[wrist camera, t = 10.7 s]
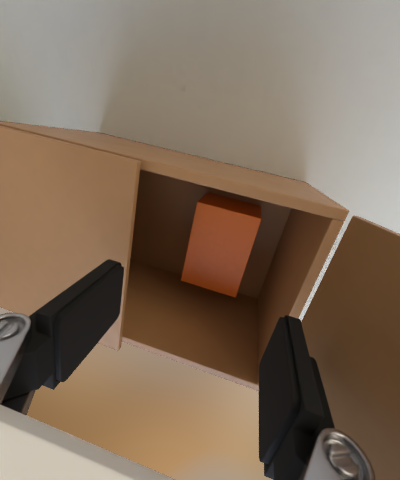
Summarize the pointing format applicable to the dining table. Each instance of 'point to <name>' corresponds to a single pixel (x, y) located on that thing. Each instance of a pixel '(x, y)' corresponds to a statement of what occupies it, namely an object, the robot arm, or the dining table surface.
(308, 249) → the open shipping carton
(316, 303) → the flap
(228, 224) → the orange block
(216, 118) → the dining table surface
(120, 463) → the robot arm
